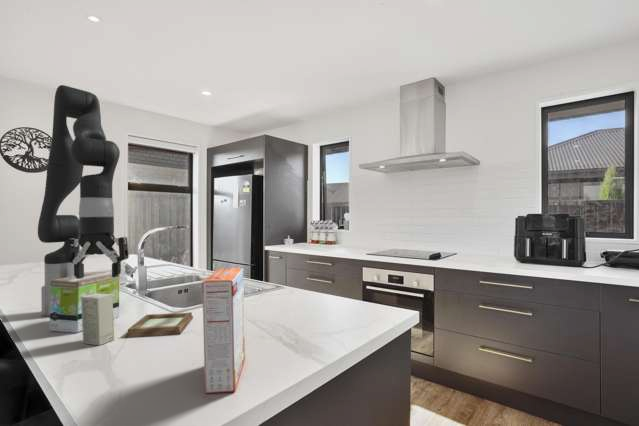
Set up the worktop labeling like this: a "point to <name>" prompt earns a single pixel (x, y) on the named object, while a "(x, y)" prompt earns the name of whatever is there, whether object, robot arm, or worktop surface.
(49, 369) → the worktop surface
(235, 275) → the cracker box
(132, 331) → the brown wooden picture frame
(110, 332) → the skincare box
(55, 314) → the tea box
